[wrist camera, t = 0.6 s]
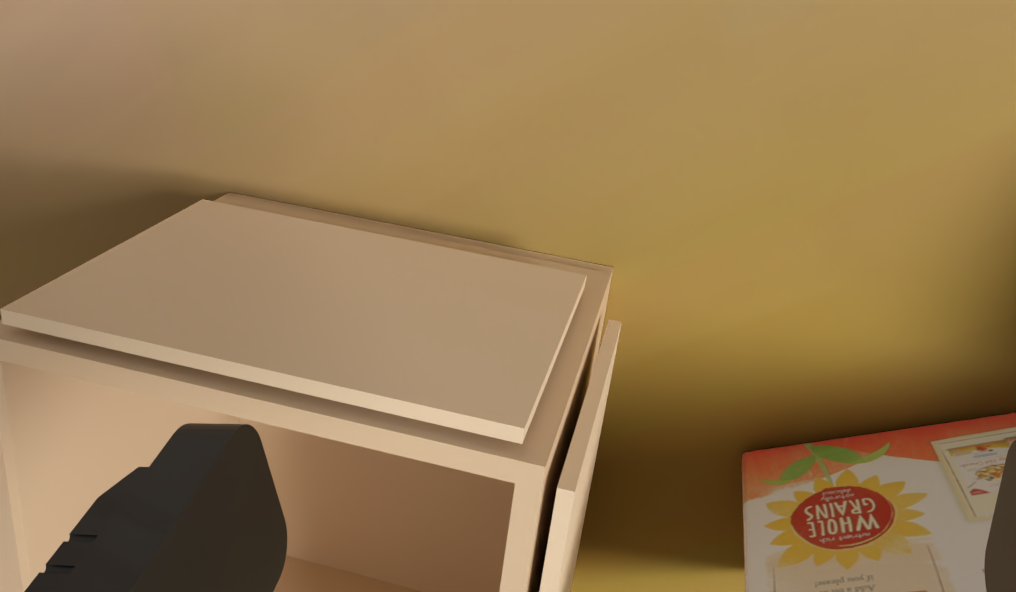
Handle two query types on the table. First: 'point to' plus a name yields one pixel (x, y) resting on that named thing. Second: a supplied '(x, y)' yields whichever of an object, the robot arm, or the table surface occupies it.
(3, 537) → the front flap
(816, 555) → the cracker box
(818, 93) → the table surface
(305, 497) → the carton
